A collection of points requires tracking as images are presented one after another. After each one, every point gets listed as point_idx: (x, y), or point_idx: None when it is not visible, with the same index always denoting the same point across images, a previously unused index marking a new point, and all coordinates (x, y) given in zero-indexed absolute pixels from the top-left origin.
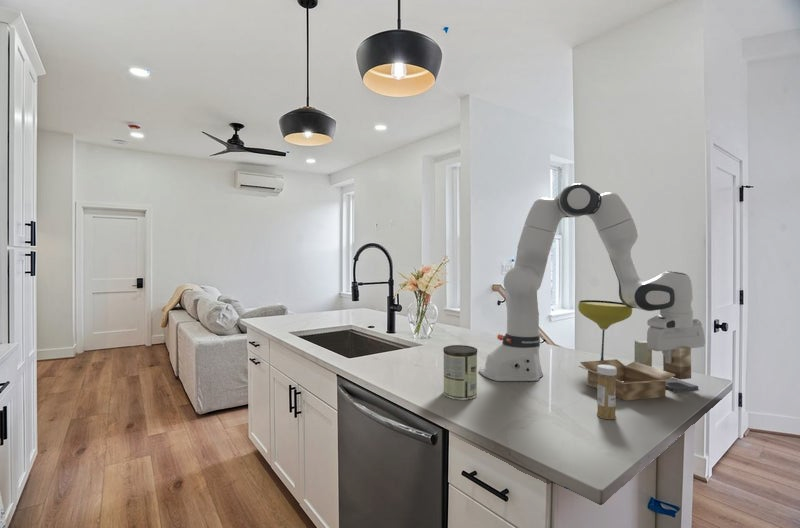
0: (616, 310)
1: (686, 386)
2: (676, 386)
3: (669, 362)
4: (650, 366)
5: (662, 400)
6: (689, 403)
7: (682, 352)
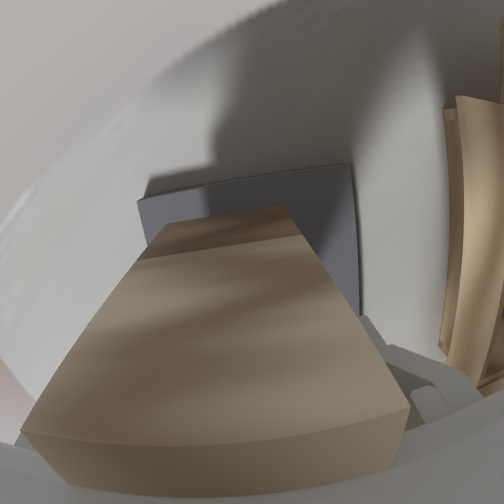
0: None
1: (226, 196)
2: (297, 203)
3: (367, 323)
4: None
5: (482, 73)
6: (395, 4)
7: (287, 350)
